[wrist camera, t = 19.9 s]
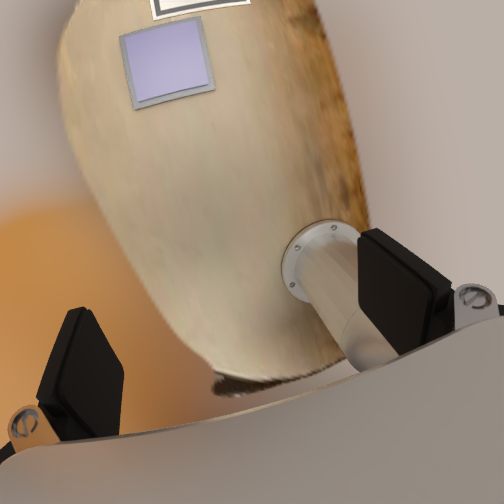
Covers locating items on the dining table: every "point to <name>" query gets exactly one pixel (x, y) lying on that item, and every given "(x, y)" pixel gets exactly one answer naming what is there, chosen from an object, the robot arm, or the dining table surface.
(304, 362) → the dining table surface
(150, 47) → the ink pad
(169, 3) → the marked card
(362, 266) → the robot arm
